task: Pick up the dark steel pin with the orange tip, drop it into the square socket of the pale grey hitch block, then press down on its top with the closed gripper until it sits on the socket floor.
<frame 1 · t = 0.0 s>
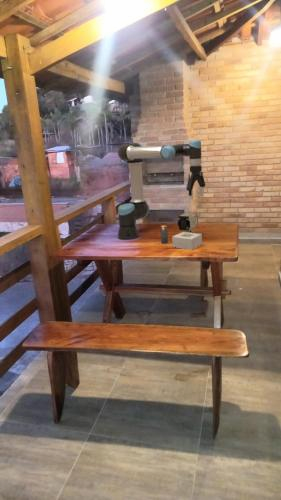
hand: (196, 198, 249), 28 cm above the table, tool pointing down, fingers open, 13 cm apart
steel pin: (164, 243, 255), on the table
ball valve: (189, 237, 266), on the table
hitch block: (187, 245, 246), on the table
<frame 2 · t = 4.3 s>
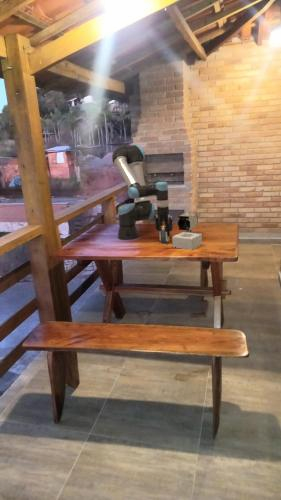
hand: (164, 240, 255), 2 cm above the table, tool pointing down, fingers closed on steel pin, 4 cm apart
steel pin: (164, 243, 255), on the table, touching gripper
everything else where it was.
when the fingers open (8 cm above the table, at t = 10.5 s): steel pin drops 5 cm, resting on hitch block.
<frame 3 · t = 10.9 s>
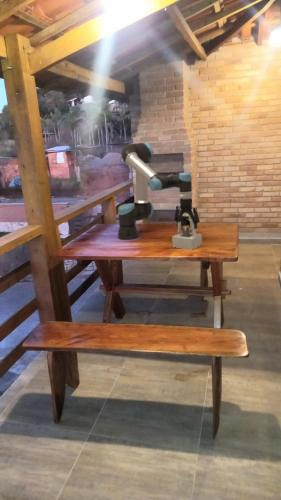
hand: (187, 232, 243), 9 cm above the table, tool pointing down, fingers open, 10 cm apart
steel pin: (186, 244, 246), point 1 cm above the table, touching hitch block
everything else where it was.
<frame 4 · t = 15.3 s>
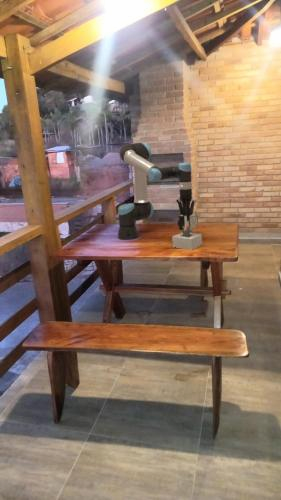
hand: (186, 225, 242), 13 cm above the table, tool pointing down, fingers closed
steel pin: (186, 244, 246), point 1 cm above the table, touching gripper, hitch block
everything else where it was.
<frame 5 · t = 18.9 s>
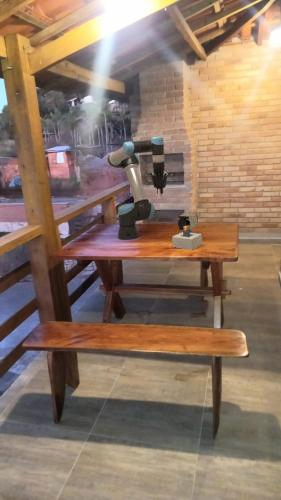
hand: (160, 198, 250), 29 cm above the table, tool pointing down, fingers closed
steel pin: (186, 244, 246), point 1 cm above the table, touching hitch block
everything else where it was.
at the end: steel pin 0.4 cm off-centre on the hitch block, point 1.0 cm above the hitch block's base; steel pin tilted 1°; the gripper is holding nothing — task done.
